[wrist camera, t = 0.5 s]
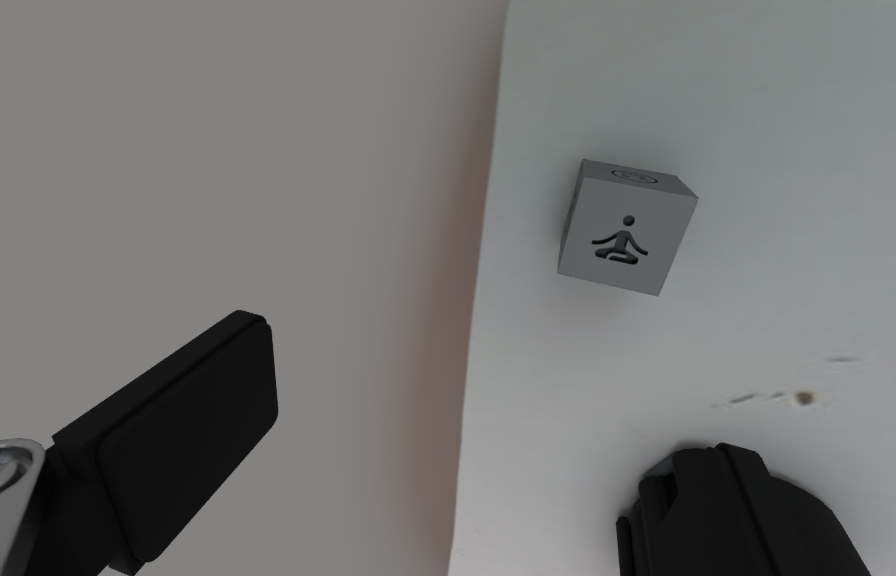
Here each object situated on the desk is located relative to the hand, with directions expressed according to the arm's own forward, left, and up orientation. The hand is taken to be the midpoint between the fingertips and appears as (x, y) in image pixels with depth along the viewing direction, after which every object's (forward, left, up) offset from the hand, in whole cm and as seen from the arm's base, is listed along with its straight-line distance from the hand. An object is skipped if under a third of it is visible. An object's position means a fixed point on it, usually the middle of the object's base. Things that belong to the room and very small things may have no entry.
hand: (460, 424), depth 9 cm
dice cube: (+3, +3, -19) cm, 20 cm away
